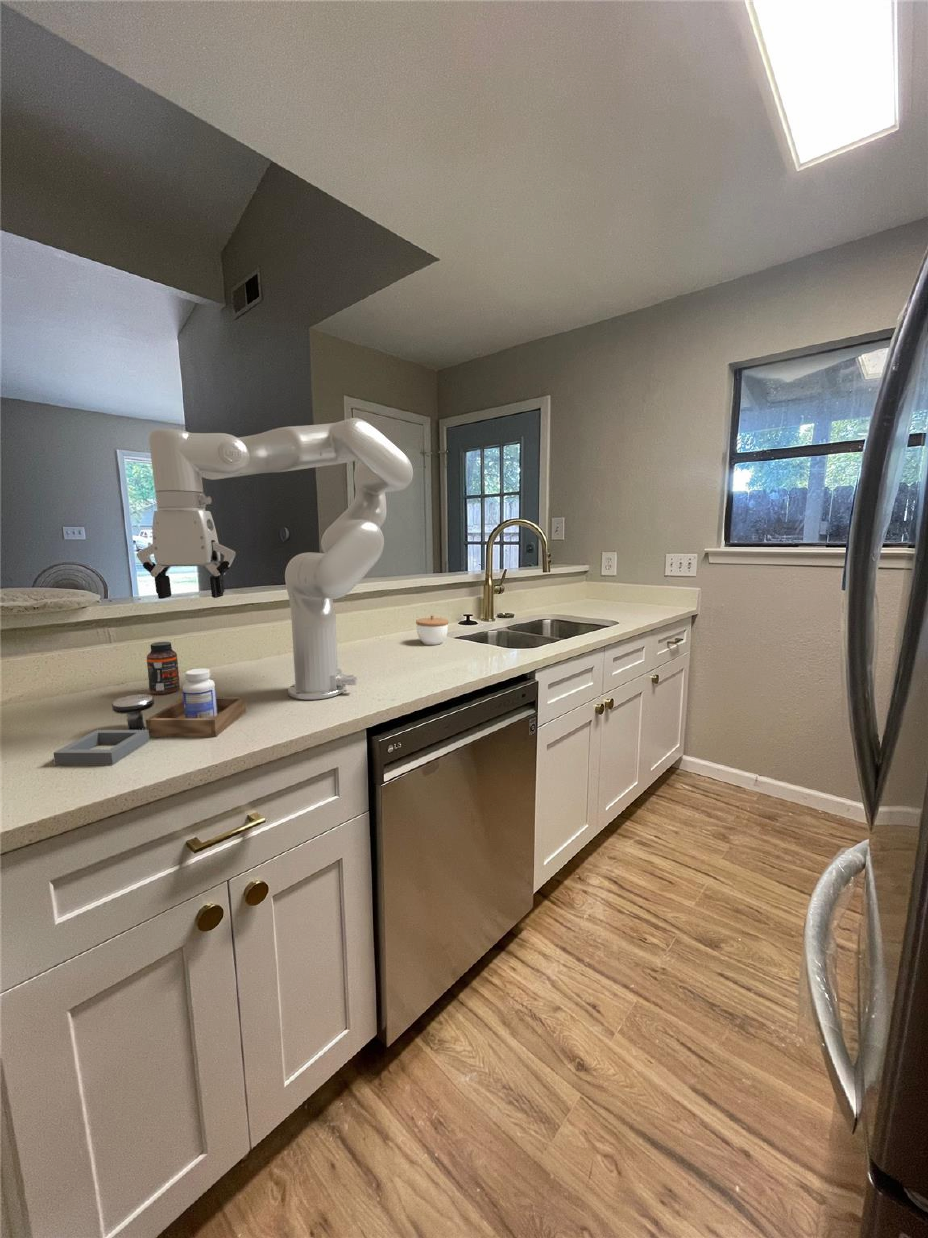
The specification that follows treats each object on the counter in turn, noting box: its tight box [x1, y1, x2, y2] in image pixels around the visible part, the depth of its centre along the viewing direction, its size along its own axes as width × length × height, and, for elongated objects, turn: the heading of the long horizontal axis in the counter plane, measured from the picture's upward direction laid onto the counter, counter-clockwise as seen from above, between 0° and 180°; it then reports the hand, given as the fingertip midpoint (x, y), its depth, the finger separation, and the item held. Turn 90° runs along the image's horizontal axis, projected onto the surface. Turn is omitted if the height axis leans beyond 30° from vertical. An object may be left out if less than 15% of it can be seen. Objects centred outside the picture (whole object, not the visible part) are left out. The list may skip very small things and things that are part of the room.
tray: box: [145, 696, 247, 738], centre depth 92 cm, size 12×12×3 cm
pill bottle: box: [182, 668, 217, 718], centre depth 92 cm, size 5×5×10 cm
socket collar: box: [53, 729, 151, 766], centre depth 80 cm, size 9×9×2 cm
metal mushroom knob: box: [111, 693, 155, 730], centre depth 90 cm, size 6×6×6 cm
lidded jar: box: [415, 614, 449, 646], centre depth 162 cm, size 11×11×9 cm
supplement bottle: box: [146, 641, 181, 695], centre depth 111 cm, size 6×6×11 cm
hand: (191, 597), depth 91 cm, fingers open, 9 cm apart
